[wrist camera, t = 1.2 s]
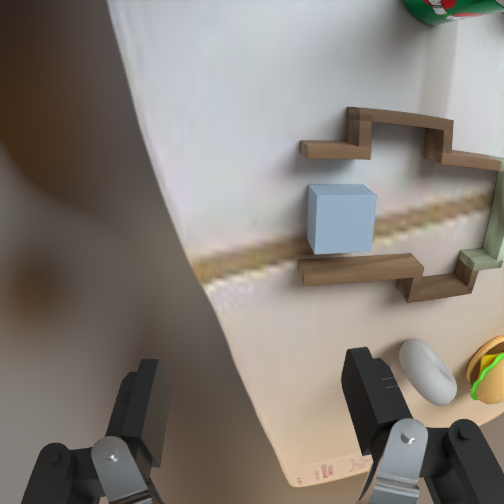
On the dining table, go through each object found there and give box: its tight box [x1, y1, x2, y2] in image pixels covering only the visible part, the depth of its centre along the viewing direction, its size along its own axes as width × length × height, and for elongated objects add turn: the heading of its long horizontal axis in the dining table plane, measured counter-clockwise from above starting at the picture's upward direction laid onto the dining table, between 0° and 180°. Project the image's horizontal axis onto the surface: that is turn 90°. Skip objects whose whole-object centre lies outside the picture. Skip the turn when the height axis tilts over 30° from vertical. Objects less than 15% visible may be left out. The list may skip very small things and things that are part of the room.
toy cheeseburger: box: [466, 336, 504, 404], centre depth 36 cm, size 12×12×9 cm
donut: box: [399, 339, 457, 406], centre depth 32 cm, size 10×4×10 cm, turn 53°
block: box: [307, 184, 377, 254], centre depth 27 cm, size 5×5×4 cm
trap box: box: [298, 107, 504, 303], centre depth 27 cm, size 18×24×3 cm
